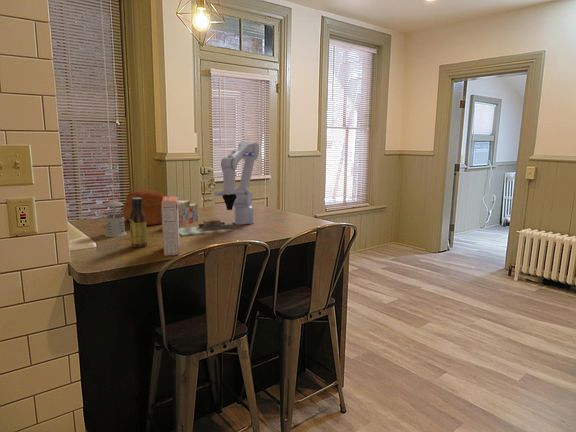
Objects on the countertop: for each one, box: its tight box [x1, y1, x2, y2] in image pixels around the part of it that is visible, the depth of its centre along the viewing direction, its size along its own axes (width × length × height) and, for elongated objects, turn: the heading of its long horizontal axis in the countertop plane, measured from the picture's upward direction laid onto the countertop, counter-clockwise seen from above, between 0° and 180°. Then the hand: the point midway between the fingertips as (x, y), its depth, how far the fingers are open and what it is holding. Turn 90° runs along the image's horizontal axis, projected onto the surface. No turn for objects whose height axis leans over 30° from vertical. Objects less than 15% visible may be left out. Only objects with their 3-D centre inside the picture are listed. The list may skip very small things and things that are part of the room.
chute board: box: [179, 226, 233, 237], centre depth 197 cm, size 24×14×1 cm, turn 119°
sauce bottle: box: [129, 197, 148, 248], centre depth 166 cm, size 7×6×20 cm
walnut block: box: [203, 218, 222, 226], centre depth 199 cm, size 7×5×4 cm, turn 119°
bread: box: [122, 188, 165, 226], centre depth 215 cm, size 18×21×17 cm
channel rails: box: [198, 221, 230, 231], centre depth 200 cm, size 13×8×2 cm, turn 119°
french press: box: [103, 179, 128, 238], centre depth 185 cm, size 10×12×25 cm
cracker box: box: [161, 195, 181, 257], centre depth 159 cm, size 14×6×21 cm, turn 13°
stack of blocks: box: [178, 199, 199, 228], centre depth 212 cm, size 21×6×12 cm, turn 169°
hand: (229, 209), depth 202 cm, fingers closed
